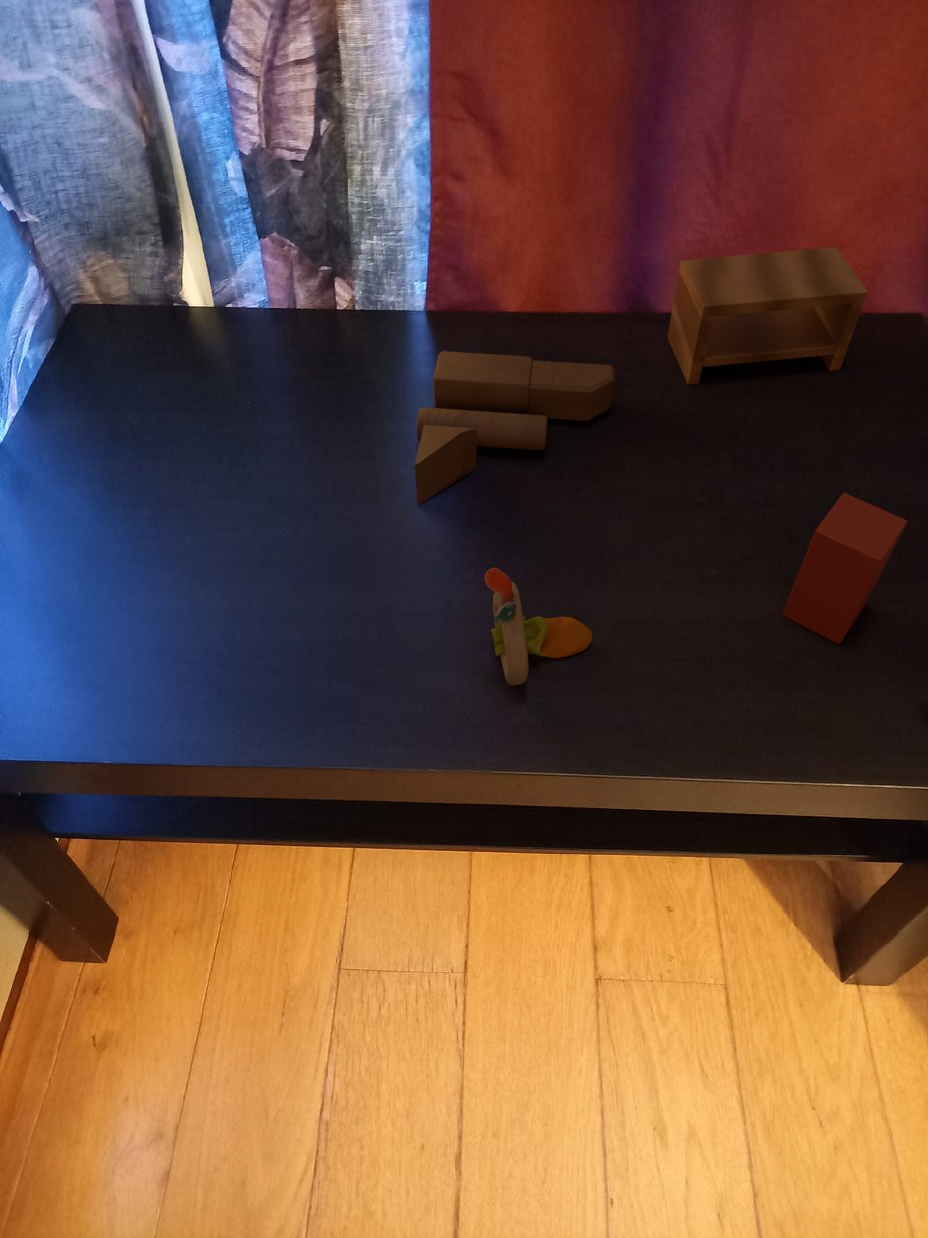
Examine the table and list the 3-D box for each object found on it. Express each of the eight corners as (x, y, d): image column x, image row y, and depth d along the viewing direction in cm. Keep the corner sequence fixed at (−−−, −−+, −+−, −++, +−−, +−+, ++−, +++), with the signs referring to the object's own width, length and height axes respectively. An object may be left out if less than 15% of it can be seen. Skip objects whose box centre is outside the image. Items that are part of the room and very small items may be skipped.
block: (865, 605, 77) (908, 520, 69) (839, 644, 75) (881, 561, 67) (808, 578, 79) (843, 491, 71) (781, 615, 77) (815, 530, 69)
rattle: (588, 708, 71) (603, 614, 62) (481, 697, 72) (480, 603, 63) (592, 630, 76) (606, 532, 67) (491, 621, 77) (492, 523, 68)
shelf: (812, 324, 101) (837, 246, 94) (840, 370, 96) (868, 291, 89) (667, 337, 100) (680, 260, 93) (687, 384, 95) (703, 306, 88)
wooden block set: (429, 340, 91) (616, 351, 90) (432, 387, 96) (610, 399, 94) (401, 457, 81) (612, 472, 79) (405, 504, 85) (605, 519, 84)
